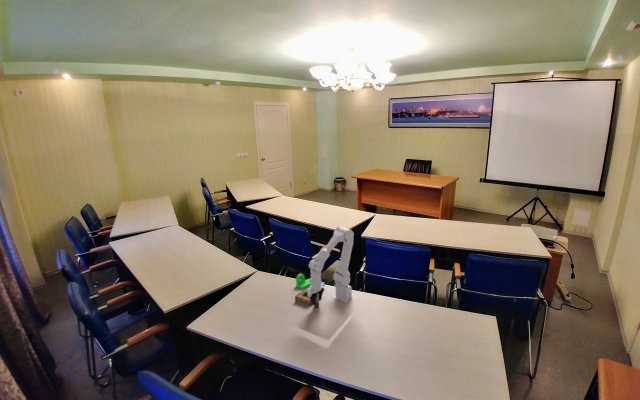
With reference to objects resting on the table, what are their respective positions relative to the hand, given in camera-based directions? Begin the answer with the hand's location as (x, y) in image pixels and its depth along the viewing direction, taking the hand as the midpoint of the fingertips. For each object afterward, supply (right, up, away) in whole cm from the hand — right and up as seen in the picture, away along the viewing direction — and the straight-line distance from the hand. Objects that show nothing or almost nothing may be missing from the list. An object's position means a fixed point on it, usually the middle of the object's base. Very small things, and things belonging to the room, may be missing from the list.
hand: (316, 302), depth 164 cm
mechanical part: (-7, +2, +26) cm, 27 cm away
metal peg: (0, -3, +1) cm, 3 cm away
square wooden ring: (-6, -1, +8) cm, 10 cm away
